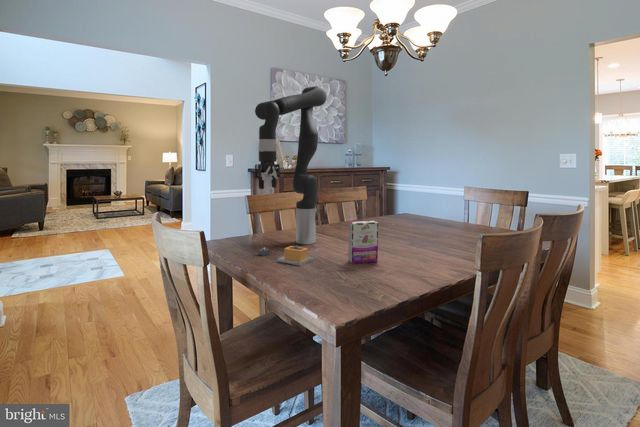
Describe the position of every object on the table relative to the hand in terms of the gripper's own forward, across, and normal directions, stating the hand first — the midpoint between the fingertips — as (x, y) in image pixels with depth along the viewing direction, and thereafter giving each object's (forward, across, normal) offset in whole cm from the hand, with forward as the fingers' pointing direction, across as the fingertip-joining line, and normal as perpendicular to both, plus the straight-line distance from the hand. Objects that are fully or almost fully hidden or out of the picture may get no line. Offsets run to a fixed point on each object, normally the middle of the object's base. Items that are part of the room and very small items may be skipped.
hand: (267, 188), depth 161 cm
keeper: (+28, +6, +19) cm, 34 cm away
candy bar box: (+28, -8, +42) cm, 51 cm away
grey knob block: (+28, +5, +2) cm, 29 cm away
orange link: (+27, +6, +19) cm, 33 cm away
